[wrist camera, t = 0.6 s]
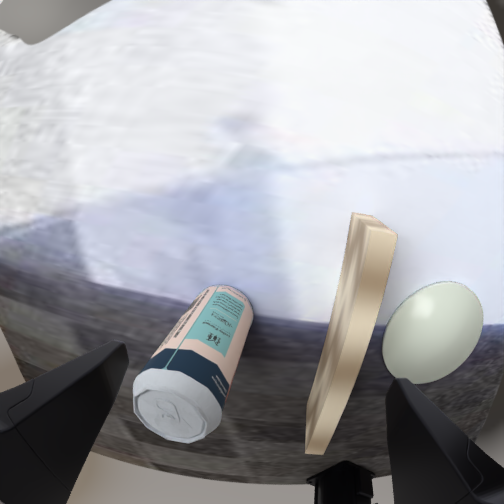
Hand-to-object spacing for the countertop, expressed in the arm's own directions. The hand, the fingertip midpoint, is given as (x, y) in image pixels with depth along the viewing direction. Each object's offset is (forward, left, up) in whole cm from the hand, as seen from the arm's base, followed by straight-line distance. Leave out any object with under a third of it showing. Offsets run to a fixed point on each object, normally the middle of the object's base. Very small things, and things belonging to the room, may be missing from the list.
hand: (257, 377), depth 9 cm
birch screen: (-2, -7, -14) cm, 16 cm away
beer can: (-7, 0, -14) cm, 15 cm away
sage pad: (+3, -15, -14) cm, 20 cm away
